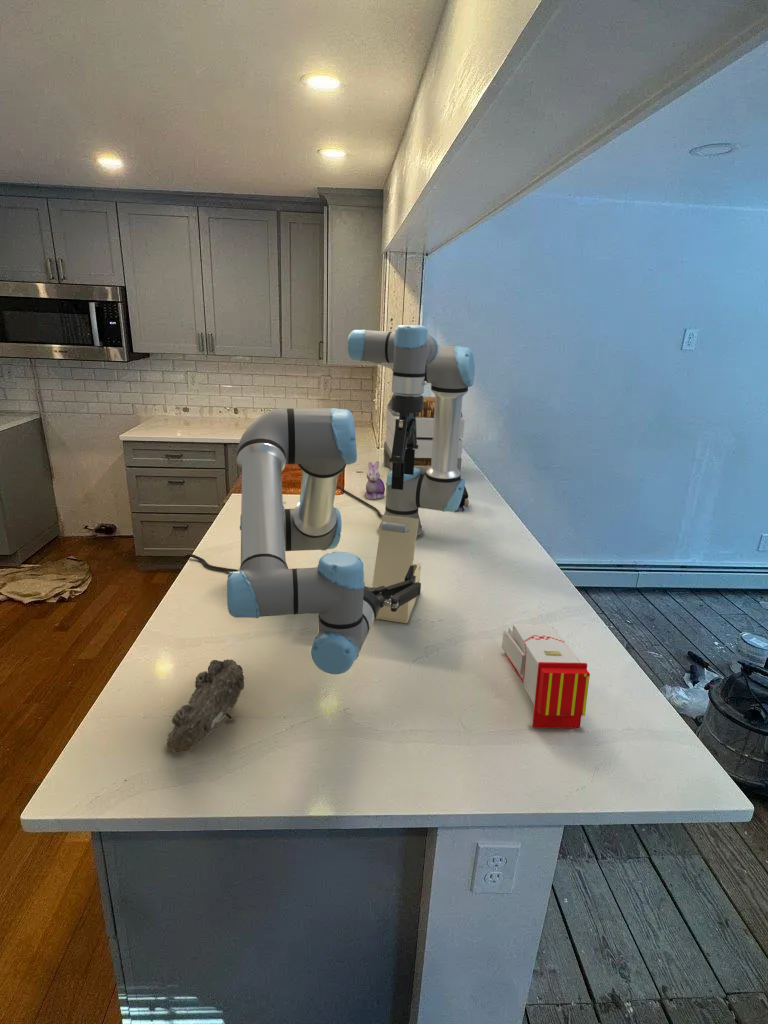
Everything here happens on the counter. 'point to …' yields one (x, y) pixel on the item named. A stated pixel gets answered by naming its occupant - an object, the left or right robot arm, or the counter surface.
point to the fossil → (206, 705)
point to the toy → (548, 674)
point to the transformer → (418, 434)
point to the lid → (395, 549)
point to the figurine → (374, 483)
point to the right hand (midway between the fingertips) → (402, 481)
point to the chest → (404, 610)
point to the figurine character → (464, 500)
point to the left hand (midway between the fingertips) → (381, 567)
